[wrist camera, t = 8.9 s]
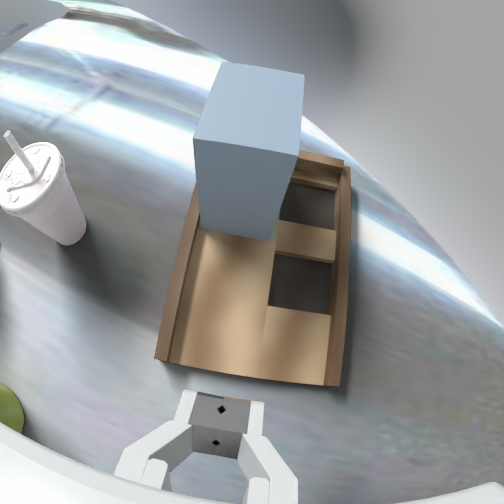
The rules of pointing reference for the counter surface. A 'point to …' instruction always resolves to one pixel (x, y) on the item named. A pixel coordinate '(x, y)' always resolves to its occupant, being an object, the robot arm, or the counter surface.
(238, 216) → the blue block
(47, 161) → the smoothie
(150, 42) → the counter surface
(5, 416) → the plant pot
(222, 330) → the lane board
